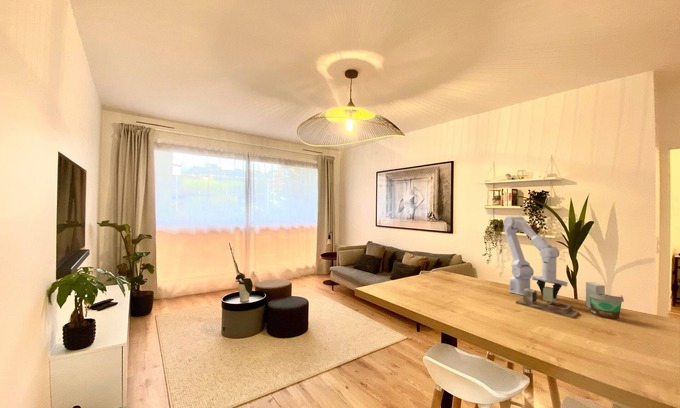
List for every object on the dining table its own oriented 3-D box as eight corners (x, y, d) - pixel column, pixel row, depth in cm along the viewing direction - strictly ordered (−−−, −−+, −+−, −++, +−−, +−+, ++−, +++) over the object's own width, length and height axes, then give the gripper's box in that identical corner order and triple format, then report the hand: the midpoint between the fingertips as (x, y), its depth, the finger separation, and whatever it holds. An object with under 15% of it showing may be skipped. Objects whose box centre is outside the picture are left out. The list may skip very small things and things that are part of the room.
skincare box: (605, 310, 132) (605, 285, 132) (596, 310, 132) (596, 285, 132) (593, 306, 138) (594, 282, 138) (585, 306, 138) (585, 282, 138)
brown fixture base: (515, 303, 141) (515, 289, 141) (523, 299, 146) (523, 286, 146) (573, 318, 122) (573, 302, 122) (579, 313, 128) (579, 298, 128)
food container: (591, 316, 124) (591, 294, 124) (587, 312, 130) (587, 290, 130) (629, 322, 118) (629, 299, 119) (622, 317, 124) (623, 295, 124)
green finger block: (542, 299, 143) (542, 287, 143) (545, 297, 146) (545, 286, 146) (552, 301, 139) (552, 290, 139) (555, 299, 142) (555, 288, 142)
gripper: (569, 272, 139) (569, 299, 139) (535, 266, 151) (535, 291, 151) (564, 274, 135) (564, 302, 135) (530, 268, 147) (530, 294, 146)
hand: (548, 296), depth 142 cm, fingers closed on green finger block, 4 cm apart
